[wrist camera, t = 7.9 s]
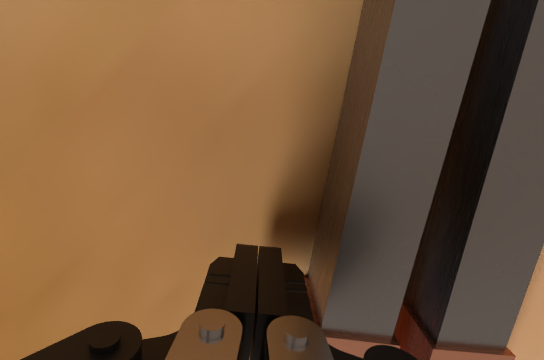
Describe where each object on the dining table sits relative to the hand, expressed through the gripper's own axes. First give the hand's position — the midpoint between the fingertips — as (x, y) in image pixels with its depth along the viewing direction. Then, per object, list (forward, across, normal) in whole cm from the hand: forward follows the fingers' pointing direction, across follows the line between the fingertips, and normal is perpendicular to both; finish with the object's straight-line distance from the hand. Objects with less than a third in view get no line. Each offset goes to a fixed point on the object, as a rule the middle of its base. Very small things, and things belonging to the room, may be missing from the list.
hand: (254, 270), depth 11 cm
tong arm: (+1, -3, -2) cm, 4 cm away
